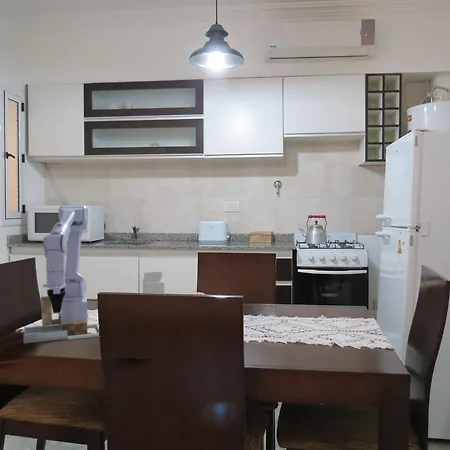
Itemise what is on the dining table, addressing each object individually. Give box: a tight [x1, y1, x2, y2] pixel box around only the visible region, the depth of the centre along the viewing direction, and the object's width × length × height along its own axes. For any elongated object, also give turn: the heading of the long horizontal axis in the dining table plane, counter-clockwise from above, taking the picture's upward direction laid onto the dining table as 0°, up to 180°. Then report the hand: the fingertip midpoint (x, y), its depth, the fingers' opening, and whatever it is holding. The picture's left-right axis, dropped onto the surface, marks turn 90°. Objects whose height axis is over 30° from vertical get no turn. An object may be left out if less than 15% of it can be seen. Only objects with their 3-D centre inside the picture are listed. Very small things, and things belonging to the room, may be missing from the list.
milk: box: [142, 271, 165, 295], centre depth 150 cm, size 6×6×22 cm
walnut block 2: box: [74, 320, 88, 336], centre depth 154 cm, size 4×4×4 cm
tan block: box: [40, 295, 62, 326], centre depth 150 cm, size 6×5×9 cm
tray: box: [67, 323, 100, 341], centre depth 154 cm, size 11×13×2 cm
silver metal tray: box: [22, 324, 68, 344], centre depth 150 cm, size 13×10×3 cm
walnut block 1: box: [61, 320, 75, 337], centre depth 152 cm, size 4×4×4 cm
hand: (56, 311), depth 151 cm, fingers closed on tan block, 3 cm apart
